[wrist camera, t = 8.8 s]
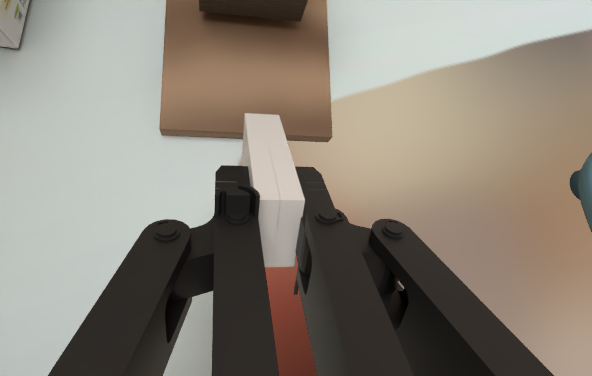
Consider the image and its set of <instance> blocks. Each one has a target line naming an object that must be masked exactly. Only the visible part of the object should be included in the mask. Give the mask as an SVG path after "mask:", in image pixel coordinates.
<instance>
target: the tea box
mask: <svg viewBox="0 0 592 376" xmlns="http://www.w3.org/2000/svg"><path fill="white" fill-rule="evenodd" d="M28 5H29V0H0V46H1V47H10V48H18V47H19V43H20V39H21V35H22V30H23V26H24V22H25V17H26V13H27V9H28Z"/></svg>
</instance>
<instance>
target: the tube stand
mask: <svg viewBox="0 0 592 376" xmlns="http://www.w3.org/2000/svg"><path fill="white" fill-rule="evenodd" d="M245 113H252V114H271V115H279V117H280V120H281V123H282V126H283V130H284V133H285V136H286V139H287V140H290V141H292V140H293V141H315V142H328V141H329V140H330V139H331V138H332V121H331V96H330V73H329V49H328V26H327V2H326V0H308V2H307V5H306V8H305V10H304V13H303V16H302V19H301V22H297V21H288V20H278V19H268V18H259V17H249V16H239V15H230V14H220V13H210V12H201V11H199V0H166V17H165V36H164V55H163V74H162V93H161V112H160V131H161V134H162V135H176V136H199V137H222V138H243V133H244V115H245Z"/></svg>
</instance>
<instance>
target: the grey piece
mask: <svg viewBox="0 0 592 376" xmlns="http://www.w3.org/2000/svg"><path fill="white" fill-rule="evenodd" d="M307 2H308V0H199V11H201V12H210V13H220V14H230V15H239V16H249V17H259V18H268V19H278V20H288V21H297V22H301V19H302V16H303V13H304V10H305V8H306V5H307Z"/></svg>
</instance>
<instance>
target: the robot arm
mask: <svg viewBox="0 0 592 376" xmlns="http://www.w3.org/2000/svg"><path fill="white" fill-rule="evenodd" d="M296 256H297V261H298V270H297V276H296V283H295V288H294V294H297V292H298V288H299V291H300V296H301V300H302V305H303V310H304V315H305V320H306V324H307V329H308V333H309V339H310V343H311V348H312V353H313V357H314V362H315V367H316V372H317V376H554V375H553V374H552V373H551V372H550V371H549V370H548V369H547V368H546V367H545V366H544V365H543V364H542V363H541V362H540V361H539V360H538V359H537V358H536V357H535V356H534V355H533V354H532V353H531V352H530V351H529V350H528V349H527V348H526V347H525V346H524V345H523V343H521V341H520V340H519V339H518V338H517V337H516V336H515V335H514V334H513V333H512V332H511V331H510V330H509V329H508V328H507V327H506V326H505V325H504V324H503V323H502V322H501V321H500V320H499V319H498V318H497V317H496V316H495V315H494V314H493V313H492V312H491V311H490V310H489V309H488V308H487V307H486V306H485V305H484V304H483V303H482V302H481V301H480V300H479V299H478V298H477V296H475V294H474V293H473V292H472V291H471V290H470V289H468V287H467V286H466V285H465V284H464V283H463V282H462V281H461V280H460V279H459V278H458V277H457V276H456V275H455V274H454V273H453V272H452V271H451V270H450V269H449V268H448V267H447V266H446V265H445V264H444V263H443V262H442V261H441V260H440V259H439V258H438V257H437V256H436V255H435V254H434V253H433V252H432V251H431V249H429V247H428V246H427V245H426V244H425V243H424V242H423V241H422V240H421V239H420V238H419V237H418V236H417V235H416V234H415V233H414V232H413V231H412V230H411V229H410V228H409V227H407V226H406V225H405V224H403V223H401V222H398V221H396V220H392V219H380V220H378V221H376V222H375V223H374V224H373V225H372V228H371V229H369V228H365V227H360V226H356V225H353V224H350V223H349V222H348V219H347V217H346V216H345V215H344V213H342V212H341V211H339V210H338V209H335V208H334V205H333V203H332V200H331V198H330V195H329V193H328V190H327V188H326V185H325V183H324V180H323V178H322V175H321V174H320V173H319V172H318V171H317V170H316V169H315V168H313V167H295V166H294V163H293V159H292V156H291V153H290V150H289V147H288V143H287V139H286V136H285V133H284V130H283V126H282V123H281V120H280V117H279V115H271V114H252V113H245V115H244V133H243V150H242V166H222V165H221V167H220V168H219V169H218V170H217V171H216V180H215V213H214V216H213V218H212V219H211V220H210V221H209V222H208V223H206V224H204V225H202V226H199V227H195V228H191V229H190V228H189V226H188V225H186V224H185V223H183V222H181V221H177V220H167V219H165V220H160V221H156V222H154V223H152V224H150V225H148V226H147V227H146V228H145V229H144V230H143V232H142V233H141V235H140V236H139V238H138V239H137V241H136V242H135V244H134V245H133V247H132V248H131V250H130V251H129V253H128V254H127V256H126V258H125V259H124V261H123V262H122V264H121V265H120V267H119V268H118V270H117V271H116V273H115V274H114V276H113V277H112V279H111V280H110V282H109V283H108V285H107V286H106V288H105V289H104V291H103V293H102V294H101V296H100V297H99V299H98V300H97V302H96V303H95V305H94V306H93V308H92V309H91V311H90V312H89V314H88V315H87V317H86V318H85V320H84V321H83V323H82V324H81V326H80V328H79V329H78V331H77V332H76V334H75V335H74V337H73V338H72V340H71V341H70V343H69V344H68V346H67V347H66V349H65V350H64V352H63V353H62V355H61V356H60V358H59V359H58V361H57V362H56V364H55V366H54V367H53V369H52V370H51V372H50V373H49V375H48V376H163V373H164V370H165V368H166V365H167V363H168V360H169V358H170V355H171V353H172V350H173V348H174V345H175V343H176V340H177V337H178V335H179V332H180V330H181V327H182V325H183V322H184V320H185V317H186V315H187V312H188V310H189V307H190V304H191V302H192V297H193V296H197V295H200V294H203V293H207V292H210V291H213V342H212V376H279V371H278V364H277V356H276V349H275V341H274V334H273V326H272V318H271V311H270V303H269V295H268V288H267V280H266V273H265V267H294V265H295V259H296ZM398 281H400V283H401V284H402V285H403V286H404V289H403V288H402V287H401V286H400V285H399V283H398Z"/></svg>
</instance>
